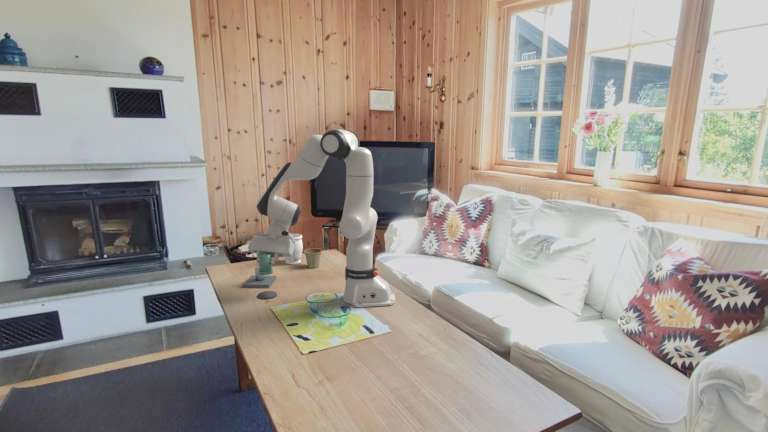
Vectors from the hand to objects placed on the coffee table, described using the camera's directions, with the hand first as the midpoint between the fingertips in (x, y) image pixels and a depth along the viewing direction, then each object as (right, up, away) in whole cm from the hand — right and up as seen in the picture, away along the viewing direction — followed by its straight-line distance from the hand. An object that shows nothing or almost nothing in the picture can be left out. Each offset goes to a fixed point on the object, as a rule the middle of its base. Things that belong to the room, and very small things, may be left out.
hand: (264, 262), depth 177 cm
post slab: (-7, -11, +18) cm, 23 cm away
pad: (0, -15, +3) cm, 15 cm away
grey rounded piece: (-7, -10, +18) cm, 22 cm away
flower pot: (+13, -7, +43) cm, 46 cm away
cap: (0, -4, +1) cm, 5 cm away
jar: (+1, -6, +50) cm, 50 cm away
